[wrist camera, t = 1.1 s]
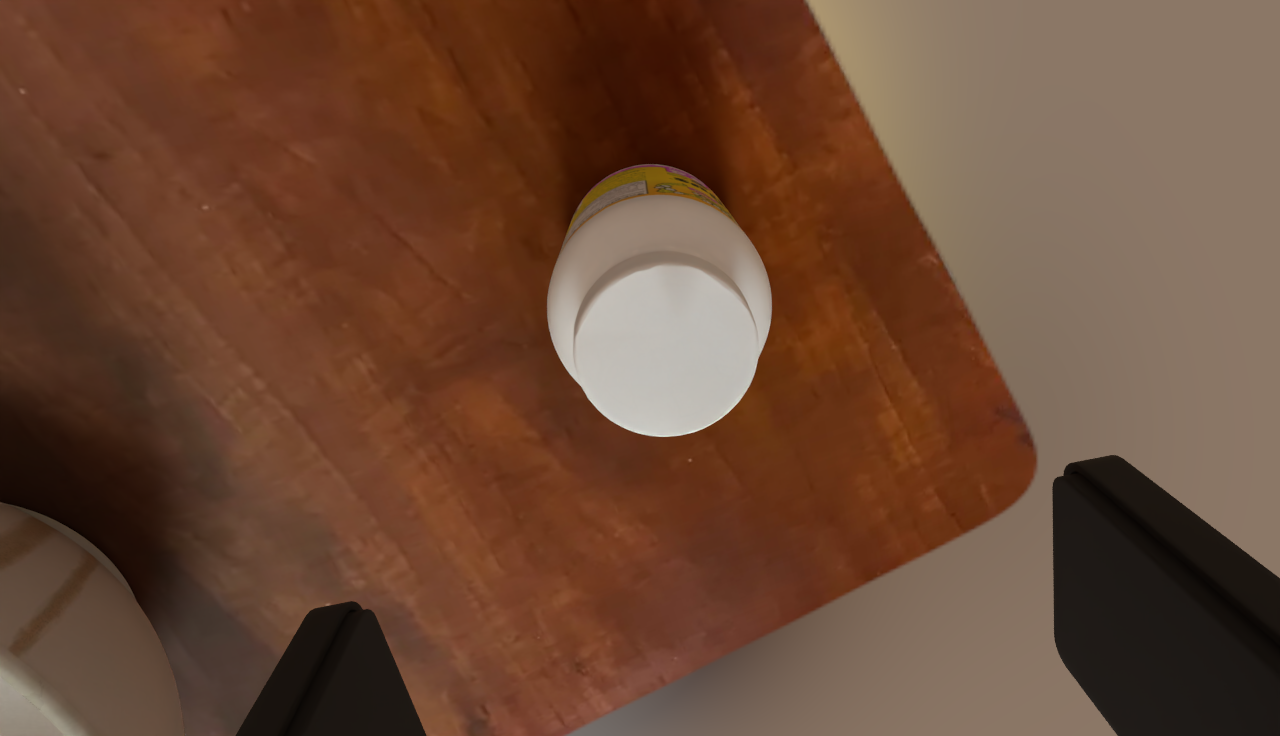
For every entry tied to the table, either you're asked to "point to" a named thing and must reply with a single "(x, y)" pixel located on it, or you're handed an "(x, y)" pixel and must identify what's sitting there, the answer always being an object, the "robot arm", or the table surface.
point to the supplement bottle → (658, 302)
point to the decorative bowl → (75, 640)
